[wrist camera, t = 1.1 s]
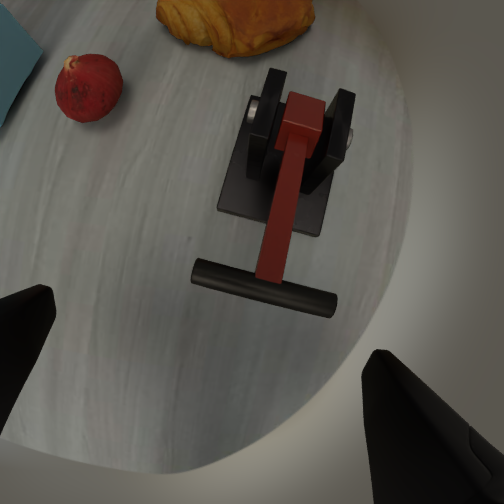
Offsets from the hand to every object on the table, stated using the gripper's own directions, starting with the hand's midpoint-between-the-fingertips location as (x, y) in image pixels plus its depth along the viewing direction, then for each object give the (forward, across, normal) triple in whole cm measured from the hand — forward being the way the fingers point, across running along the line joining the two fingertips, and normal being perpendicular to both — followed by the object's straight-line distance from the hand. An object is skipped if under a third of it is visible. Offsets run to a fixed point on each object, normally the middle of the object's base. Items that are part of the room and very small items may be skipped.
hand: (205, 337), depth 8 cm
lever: (+10, -2, -1) cm, 10 cm away
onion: (+22, +14, -4) cm, 26 cm away
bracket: (+20, -3, -1) cm, 20 cm away
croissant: (+28, +4, -15) cm, 32 cm away
